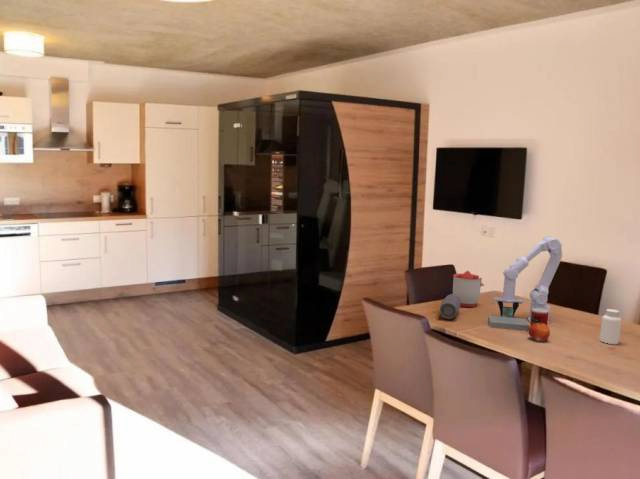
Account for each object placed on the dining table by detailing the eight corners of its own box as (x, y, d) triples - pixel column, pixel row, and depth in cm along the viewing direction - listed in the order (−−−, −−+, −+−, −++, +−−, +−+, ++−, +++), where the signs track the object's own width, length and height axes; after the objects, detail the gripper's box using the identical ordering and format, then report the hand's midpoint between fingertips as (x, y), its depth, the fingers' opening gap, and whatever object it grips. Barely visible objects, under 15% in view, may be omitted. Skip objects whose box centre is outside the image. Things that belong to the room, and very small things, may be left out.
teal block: (511, 318, 295) (512, 307, 294) (512, 320, 290) (513, 309, 289) (501, 317, 296) (502, 306, 295) (502, 319, 291) (503, 308, 290)
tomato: (551, 343, 252) (552, 326, 251) (529, 341, 254) (531, 324, 253) (547, 337, 261) (548, 321, 260) (526, 336, 263) (527, 319, 262)
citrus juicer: (485, 309, 312) (488, 273, 310) (454, 308, 312) (457, 272, 310) (478, 302, 328) (481, 268, 325) (448, 301, 328) (450, 267, 325)
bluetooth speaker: (457, 322, 282) (458, 302, 281) (438, 320, 285) (439, 300, 284) (460, 312, 304) (462, 293, 303) (443, 310, 307) (444, 292, 306)
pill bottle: (618, 346, 253) (621, 313, 251) (598, 342, 257) (601, 310, 255) (619, 341, 260) (623, 310, 258) (600, 338, 264) (603, 307, 262)
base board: (524, 323, 285) (525, 318, 285) (528, 330, 272) (529, 325, 272) (487, 320, 288) (488, 315, 288) (490, 327, 276) (490, 322, 275)
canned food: (546, 331, 273) (548, 309, 271) (547, 335, 265) (549, 312, 264) (529, 329, 275) (531, 307, 274) (529, 333, 268) (531, 310, 266)
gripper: (495, 291, 288) (493, 316, 290) (525, 293, 286) (522, 319, 287) (493, 288, 295) (491, 313, 297) (522, 290, 292) (520, 316, 294)
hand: (506, 316), depth 293 cm, fingers closed on teal block, 5 cm apart
